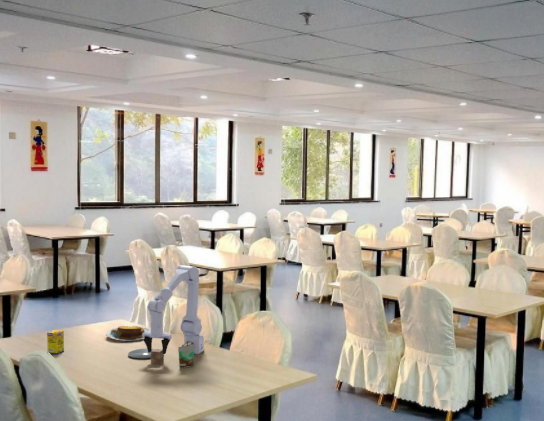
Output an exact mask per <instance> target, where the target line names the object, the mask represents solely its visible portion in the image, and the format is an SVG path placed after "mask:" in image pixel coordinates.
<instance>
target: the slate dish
mask: <svg viewBox="0 0 544 421" xmlns="http://www.w3.org/2000/svg"><path fill="white" fill-rule="evenodd" d="M154 349H155V348H152V350H154ZM127 355H128V357H130V358H134V359H151V352H150V353H148V349H147V348H139V349H134V350H130V351H129V352H128V354H127Z"/></svg>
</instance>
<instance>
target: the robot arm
mask: <svg viewBox="0 0 544 421" xmlns="http://www.w3.org/2000/svg"><path fill="white" fill-rule="evenodd" d="M182 282H186V283H187V296H186V310H185V313H186V314H185V315H184V316H183V317H182V320H181V323H180V330H181V332H182V334H183V344H185V343H186V341H192V342H194V344H195V347H196V348H195V349H194V355H199V354H201V353H202V352H203V351H205V348H204V347H205V346H204V345H205V341H204V340H205V339H204V336H203V335H202V334H201V332H202V329H203V328H202V327H203V326H202V320H201V318H200V317H199V316H198V306H199V305H198V304H199V290H200V288H199V287H200V270H199V268H197V266H192V265H191V266H190V265H184V264H180V265H178V267H177V268H176V270H175V274H174V276H173V277H172V278H171V280H170V282H169V283H168V285H167V286H166V287H163V288H161V289H160V291H159V292H158V294H157V295H156V296H155V297H154V299H151V300H150V301H149V302H148V305H147V309H148V311H149V316H150V330H151V333H142V337H144V339H142V340H143V342H144V345H145V346H146V349H148V353H150V352H151V351H152V349H153V348H152V347H153V346H152V342H153V339H162V340H160V341H161V345H162V349H163V354H164V355H165V354H166V353H167V349H168V347H169V343H170V341H171V339H172V336H173V335H172V334H169V333H164V322H163V320H164V319H163V317H164V315H163V312H164V311H165V310H166V305H167V303H168V302H169V300H170V299H171V297H173V291H174V290H175V289H176V288H177V287H178V286H179V285H180V284H181V283H182Z"/></svg>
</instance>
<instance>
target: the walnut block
mask: <svg viewBox="0 0 544 421" xmlns="http://www.w3.org/2000/svg"><path fill="white" fill-rule="evenodd" d="M153 349H154V350H152V351H151V358H150V364H152V365H161V364H162V363H164V362H165V357H164V356H165V354H163V348H153Z"/></svg>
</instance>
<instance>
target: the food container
mask: <svg viewBox="0 0 544 421" xmlns="http://www.w3.org/2000/svg"><path fill="white" fill-rule="evenodd" d="M195 348H196V347H195V344H194V342H192V341H186V343H185V344H184V343H182V345H181V346H178V348H177V349H178V362H179V363H178V366H179V368H188V367H189V366H190V367H192V366H193V365H194V357H195V354H194V349H195Z"/></svg>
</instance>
